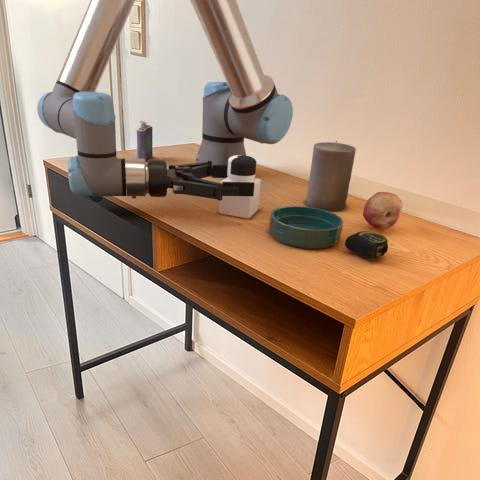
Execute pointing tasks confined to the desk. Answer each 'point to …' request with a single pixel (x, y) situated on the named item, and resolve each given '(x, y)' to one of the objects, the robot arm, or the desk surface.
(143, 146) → the flask
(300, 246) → the bowl
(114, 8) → the robot arm
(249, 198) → the medicine bottle
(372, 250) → the tape measure
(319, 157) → the pillar candle
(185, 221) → the desk surface
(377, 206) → the fruit
